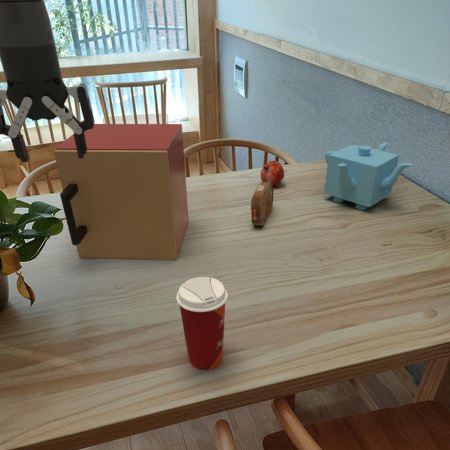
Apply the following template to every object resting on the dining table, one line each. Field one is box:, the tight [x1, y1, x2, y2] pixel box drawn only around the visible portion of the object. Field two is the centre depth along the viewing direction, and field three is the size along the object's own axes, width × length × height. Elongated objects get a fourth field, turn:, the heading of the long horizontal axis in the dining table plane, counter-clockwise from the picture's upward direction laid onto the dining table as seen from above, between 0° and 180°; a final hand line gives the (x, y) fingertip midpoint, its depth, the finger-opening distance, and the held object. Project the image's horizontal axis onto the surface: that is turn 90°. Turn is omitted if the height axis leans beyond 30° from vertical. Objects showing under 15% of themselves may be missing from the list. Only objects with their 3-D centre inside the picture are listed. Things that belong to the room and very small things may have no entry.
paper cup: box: [175, 276, 229, 371], centre depth 70 cm, size 8×8×14 cm
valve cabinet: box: [55, 123, 190, 259], centre depth 102 cm, size 18×22×24 cm
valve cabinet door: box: [52, 149, 178, 261], centre depth 91 cm, size 7×22×24 cm, turn 86°
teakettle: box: [323, 141, 414, 211], centre depth 120 cm, size 19×19×15 cm
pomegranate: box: [259, 160, 285, 188], centre depth 133 cm, size 7×7×10 cm
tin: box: [250, 181, 274, 227], centre depth 114 cm, size 15×3×8 cm, turn 163°
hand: (53, 158), depth 70 cm, fingers open, 8 cm apart
